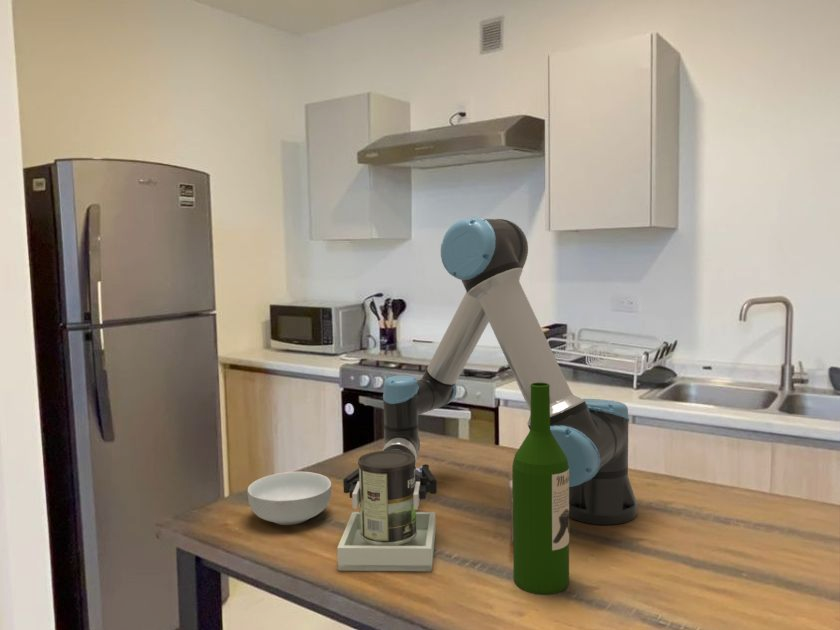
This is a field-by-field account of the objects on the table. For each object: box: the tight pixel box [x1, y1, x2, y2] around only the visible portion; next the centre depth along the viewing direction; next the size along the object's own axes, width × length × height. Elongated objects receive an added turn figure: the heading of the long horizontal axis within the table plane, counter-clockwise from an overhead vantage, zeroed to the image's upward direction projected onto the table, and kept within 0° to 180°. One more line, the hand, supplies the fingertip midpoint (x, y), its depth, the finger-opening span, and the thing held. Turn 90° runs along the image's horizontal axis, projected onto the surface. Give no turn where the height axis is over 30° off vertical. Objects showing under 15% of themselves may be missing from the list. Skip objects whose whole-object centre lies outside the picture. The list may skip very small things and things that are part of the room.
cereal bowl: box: [246, 471, 332, 526], centre depth 139 cm, size 17×17×7 cm
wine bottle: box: [512, 383, 570, 595], centre depth 109 cm, size 9×9×32 cm
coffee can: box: [357, 450, 417, 546], centre depth 122 cm, size 10×10×14 cm
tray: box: [336, 511, 436, 572], centre depth 123 cm, size 16×16×4 cm
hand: (385, 501), depth 118 cm, fingers closed on coffee can, 10 cm apart
